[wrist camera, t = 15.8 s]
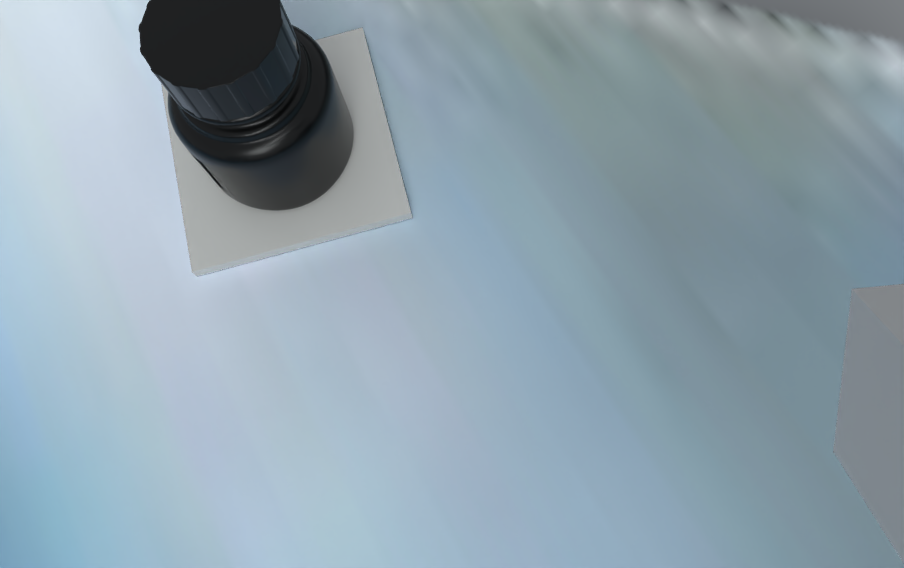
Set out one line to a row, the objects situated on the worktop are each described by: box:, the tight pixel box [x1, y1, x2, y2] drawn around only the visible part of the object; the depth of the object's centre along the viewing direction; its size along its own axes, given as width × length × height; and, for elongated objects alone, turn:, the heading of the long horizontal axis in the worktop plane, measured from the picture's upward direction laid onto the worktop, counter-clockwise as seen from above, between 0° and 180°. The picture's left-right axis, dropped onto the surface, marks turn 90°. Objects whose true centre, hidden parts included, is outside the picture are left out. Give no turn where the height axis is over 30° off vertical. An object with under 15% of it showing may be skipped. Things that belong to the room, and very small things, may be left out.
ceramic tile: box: [161, 27, 413, 276], centre depth 50 cm, size 13×13×1 cm
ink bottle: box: [139, 0, 354, 211], centre depth 44 cm, size 10×9×12 cm
